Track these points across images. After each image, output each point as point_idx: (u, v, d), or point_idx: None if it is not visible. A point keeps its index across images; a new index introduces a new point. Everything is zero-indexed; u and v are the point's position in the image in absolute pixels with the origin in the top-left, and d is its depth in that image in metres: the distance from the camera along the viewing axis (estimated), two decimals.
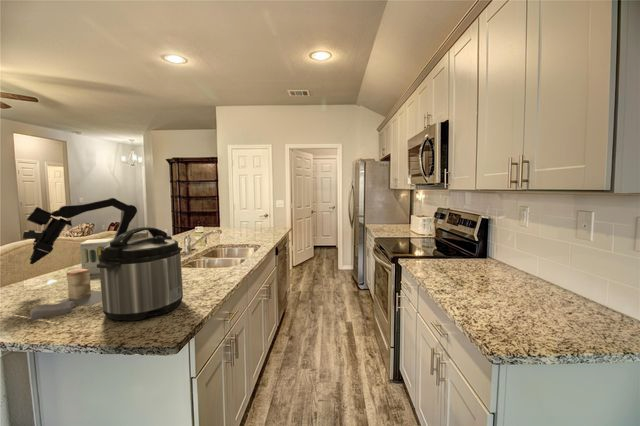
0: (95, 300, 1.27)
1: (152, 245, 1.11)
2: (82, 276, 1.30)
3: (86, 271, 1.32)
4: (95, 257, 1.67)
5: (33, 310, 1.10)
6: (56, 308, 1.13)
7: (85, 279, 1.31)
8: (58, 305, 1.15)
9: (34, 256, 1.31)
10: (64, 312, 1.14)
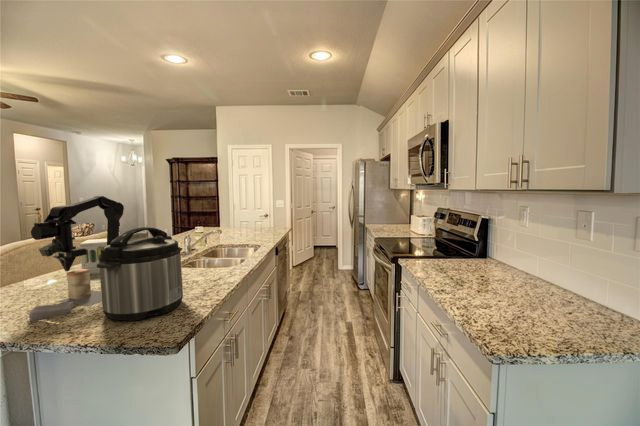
0: (95, 300, 1.27)
1: (152, 245, 1.11)
2: (82, 276, 1.30)
3: (86, 271, 1.32)
4: (95, 257, 1.67)
5: (32, 311, 1.09)
6: (55, 309, 1.12)
7: (85, 279, 1.31)
8: (57, 306, 1.15)
9: (67, 264, 1.32)
10: (64, 313, 1.13)
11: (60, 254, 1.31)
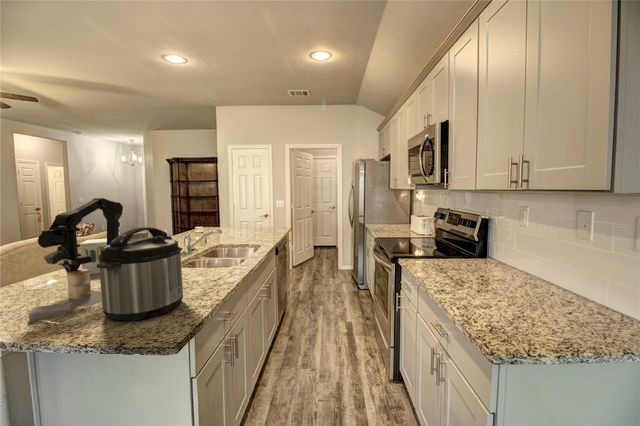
0: (95, 300, 1.27)
1: (152, 245, 1.11)
2: (82, 276, 1.30)
3: (86, 271, 1.32)
4: (95, 257, 1.67)
5: (32, 311, 1.09)
6: (55, 309, 1.12)
7: (85, 279, 1.31)
8: (57, 306, 1.14)
9: None
10: (63, 313, 1.13)
11: (65, 261, 1.31)
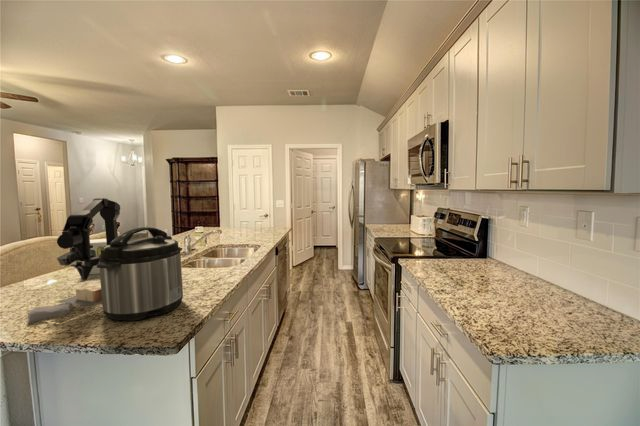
0: None
1: (152, 245, 1.11)
2: None
3: None
4: None
5: (31, 312, 1.08)
6: (54, 310, 1.11)
7: None
8: (56, 307, 1.14)
9: (85, 273, 1.29)
10: (63, 314, 1.12)
11: (78, 263, 1.28)
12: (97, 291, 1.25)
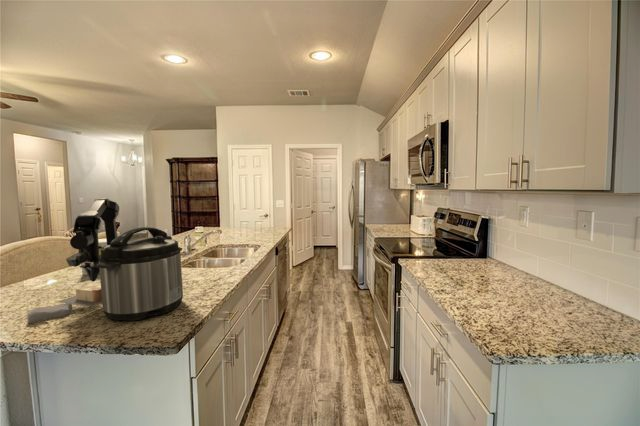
0: None
1: (152, 245, 1.11)
2: None
3: None
4: None
5: (30, 313, 1.08)
6: (54, 310, 1.11)
7: None
8: (56, 307, 1.13)
9: (93, 274, 1.27)
10: (62, 314, 1.12)
11: (86, 264, 1.27)
12: (97, 291, 1.25)
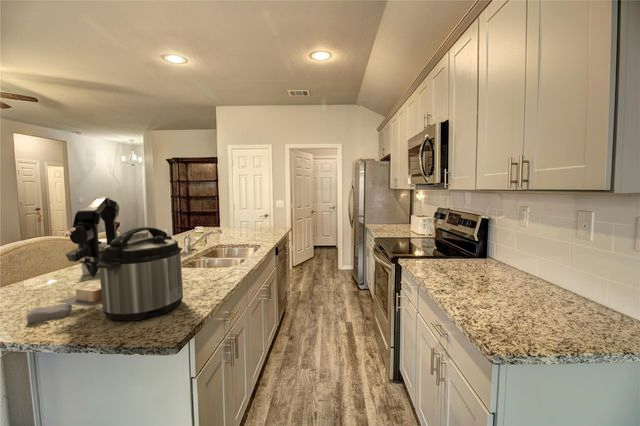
0: None
1: (152, 245, 1.11)
2: None
3: None
4: None
5: (30, 313, 1.07)
6: (54, 311, 1.10)
7: None
8: (56, 308, 1.13)
9: (93, 269, 1.27)
10: (62, 315, 1.11)
11: (86, 259, 1.26)
12: (97, 291, 1.25)
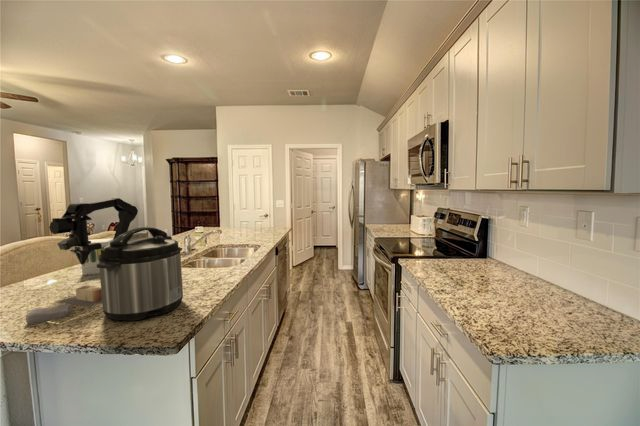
0: None
1: (152, 245, 1.11)
2: None
3: None
4: (95, 257, 1.67)
5: (29, 314, 1.07)
6: (53, 311, 1.10)
7: None
8: (55, 308, 1.12)
9: (83, 257, 1.40)
10: (61, 315, 1.11)
11: (76, 248, 1.39)
12: (97, 291, 1.25)
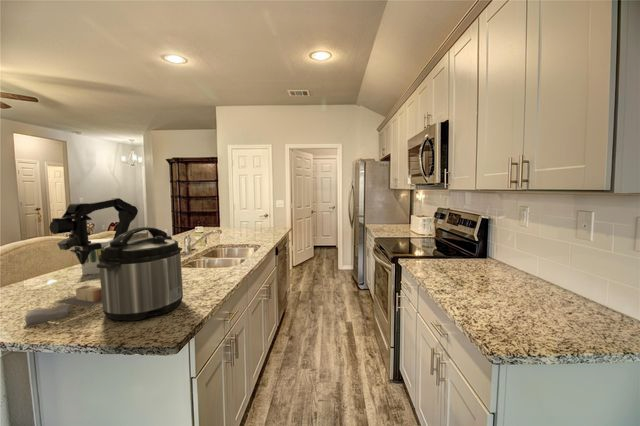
0: None
1: (152, 245, 1.11)
2: None
3: None
4: (95, 257, 1.67)
5: (28, 314, 1.06)
6: (52, 312, 1.09)
7: None
8: (54, 309, 1.12)
9: (83, 257, 1.40)
10: (61, 316, 1.10)
11: (76, 248, 1.39)
12: (97, 291, 1.25)
